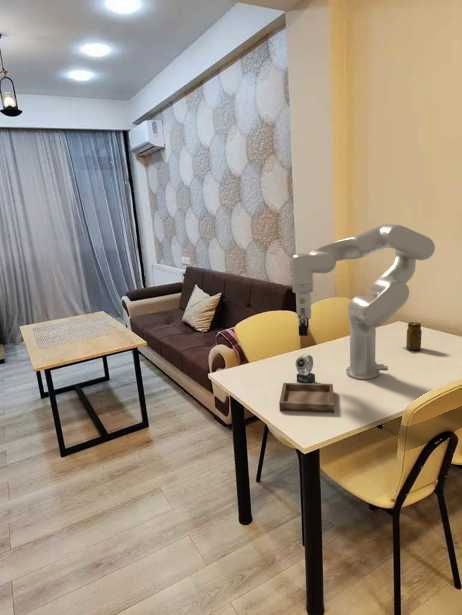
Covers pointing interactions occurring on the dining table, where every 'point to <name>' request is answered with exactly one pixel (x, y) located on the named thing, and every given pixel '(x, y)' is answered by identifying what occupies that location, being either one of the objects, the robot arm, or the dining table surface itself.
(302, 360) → the watch
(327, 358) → the dining table surface
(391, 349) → the dining table surface
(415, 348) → the condiment
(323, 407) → the tray
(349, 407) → the dining table surface
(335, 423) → the dining table surface
